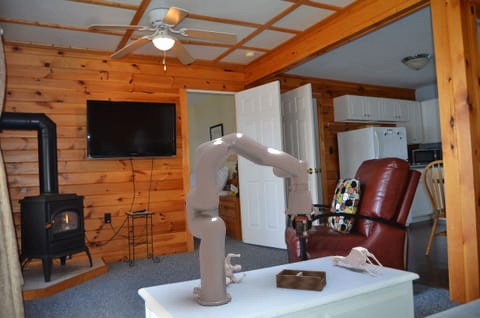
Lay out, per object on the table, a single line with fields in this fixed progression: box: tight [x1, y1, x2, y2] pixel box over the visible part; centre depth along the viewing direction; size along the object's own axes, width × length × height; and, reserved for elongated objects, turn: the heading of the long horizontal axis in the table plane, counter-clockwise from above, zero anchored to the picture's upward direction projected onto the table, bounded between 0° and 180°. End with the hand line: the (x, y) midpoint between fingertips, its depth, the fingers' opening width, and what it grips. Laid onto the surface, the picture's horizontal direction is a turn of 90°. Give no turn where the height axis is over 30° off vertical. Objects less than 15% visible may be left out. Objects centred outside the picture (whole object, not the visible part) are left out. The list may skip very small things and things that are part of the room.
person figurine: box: [198, 253, 247, 288], centre depth 158 cm, size 13×13×18 cm
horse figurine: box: [331, 246, 383, 277], centre depth 169 cm, size 5×16×25 cm
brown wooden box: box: [275, 268, 327, 292], centre depth 150 cm, size 18×10×5 cm, turn 65°
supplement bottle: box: [295, 214, 310, 239], centre depth 163 cm, size 6×6×11 cm
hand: (302, 228), depth 162 cm, fingers closed on supplement bottle, 6 cm apart
